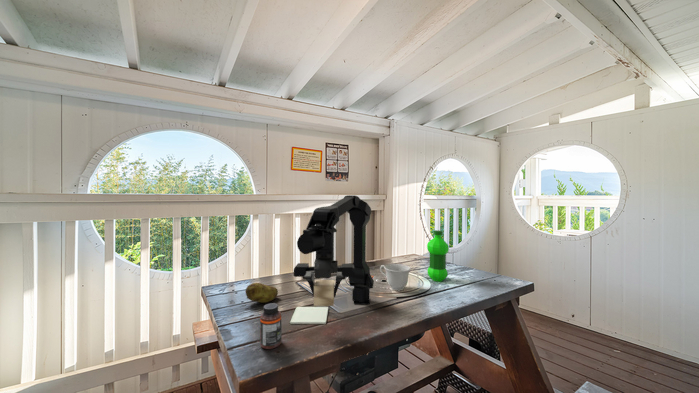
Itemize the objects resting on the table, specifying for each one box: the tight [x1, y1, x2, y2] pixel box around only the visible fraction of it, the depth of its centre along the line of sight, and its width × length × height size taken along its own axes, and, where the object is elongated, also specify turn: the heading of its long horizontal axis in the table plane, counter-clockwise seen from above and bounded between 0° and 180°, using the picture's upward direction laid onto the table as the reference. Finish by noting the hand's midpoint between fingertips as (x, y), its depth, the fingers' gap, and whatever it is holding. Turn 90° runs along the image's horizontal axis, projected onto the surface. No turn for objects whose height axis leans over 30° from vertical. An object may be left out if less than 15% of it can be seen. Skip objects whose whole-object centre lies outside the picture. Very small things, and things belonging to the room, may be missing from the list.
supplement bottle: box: [259, 302, 282, 350], centre depth 78 cm, size 6×6×11 cm
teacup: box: [379, 263, 412, 292], centre depth 124 cm, size 12×15×10 cm
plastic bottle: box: [426, 229, 450, 283], centre depth 137 cm, size 10×10×25 cm
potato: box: [245, 282, 279, 304], centre depth 108 cm, size 8×13×8 cm, turn 116°
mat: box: [289, 306, 329, 325], centre depth 96 cm, size 12×12×1 cm
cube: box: [313, 279, 336, 307], centre depth 85 cm, size 6×6×6 cm
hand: (324, 296), depth 85 cm, fingers closed on cube, 6 cm apart
